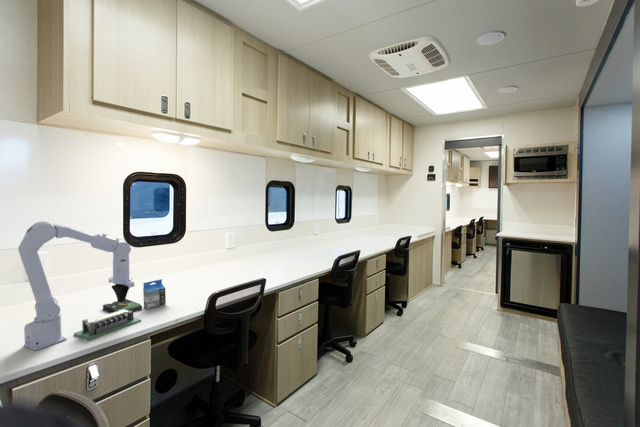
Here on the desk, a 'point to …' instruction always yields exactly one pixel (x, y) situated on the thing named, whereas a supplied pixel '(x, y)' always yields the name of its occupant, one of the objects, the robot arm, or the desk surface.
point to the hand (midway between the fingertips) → (121, 301)
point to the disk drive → (122, 306)
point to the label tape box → (154, 294)
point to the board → (130, 321)
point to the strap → (107, 317)
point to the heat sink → (104, 324)
